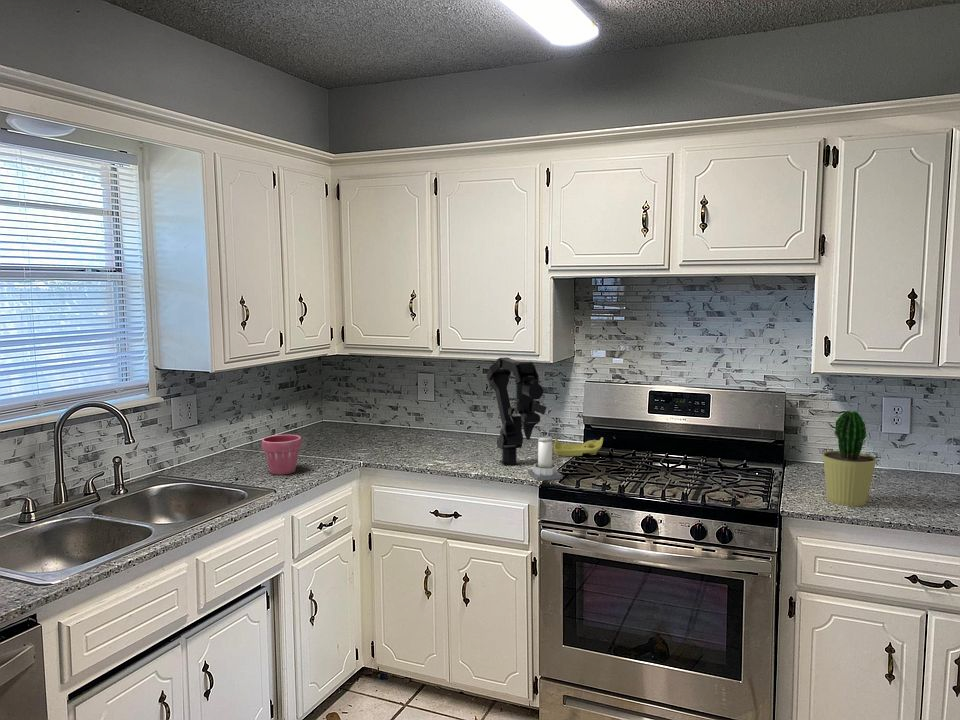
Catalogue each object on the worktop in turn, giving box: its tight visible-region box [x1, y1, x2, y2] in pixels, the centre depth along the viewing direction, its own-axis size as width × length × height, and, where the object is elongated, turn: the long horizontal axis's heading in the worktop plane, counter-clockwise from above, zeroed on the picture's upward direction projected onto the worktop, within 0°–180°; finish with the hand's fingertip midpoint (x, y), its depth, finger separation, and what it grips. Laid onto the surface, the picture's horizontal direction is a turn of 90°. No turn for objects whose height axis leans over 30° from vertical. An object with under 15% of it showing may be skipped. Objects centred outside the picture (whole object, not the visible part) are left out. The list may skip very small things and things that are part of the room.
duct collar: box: [527, 462, 563, 482], centre depth 262 cm, size 10×10×4 cm
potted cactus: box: [822, 410, 877, 507], centre depth 232 cm, size 15×15×30 cm
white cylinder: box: [537, 435, 553, 468], centre depth 262 cm, size 5×5×13 cm
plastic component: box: [552, 437, 604, 457], centre depth 296 cm, size 20×7×10 cm
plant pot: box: [261, 434, 302, 475], centre depth 268 cm, size 14×14×13 cm
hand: (523, 437), depth 268 cm, fingers open, 9 cm apart
